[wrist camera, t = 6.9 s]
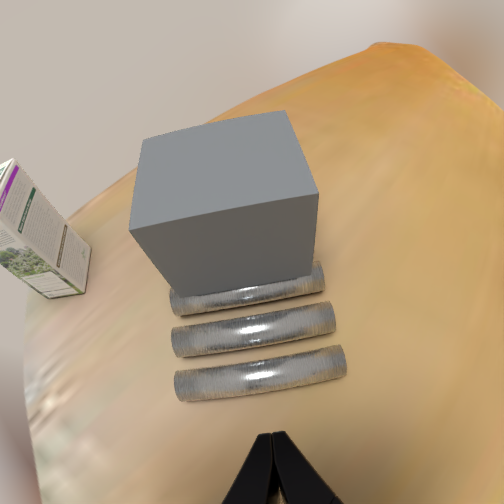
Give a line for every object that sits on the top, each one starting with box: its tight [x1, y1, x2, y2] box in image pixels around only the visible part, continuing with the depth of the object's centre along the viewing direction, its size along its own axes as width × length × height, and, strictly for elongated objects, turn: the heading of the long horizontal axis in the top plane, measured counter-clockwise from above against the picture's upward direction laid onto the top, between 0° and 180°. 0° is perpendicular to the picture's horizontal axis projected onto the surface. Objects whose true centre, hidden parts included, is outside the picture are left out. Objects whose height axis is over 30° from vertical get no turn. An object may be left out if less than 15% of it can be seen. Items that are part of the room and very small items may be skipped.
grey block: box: [129, 110, 319, 298], centre depth 21 cm, size 8×10×9 cm
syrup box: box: [0, 158, 91, 299], centre depth 23 cm, size 6×6×14 cm
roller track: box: [170, 261, 347, 402], centre depth 23 cm, size 13×12×2 cm
